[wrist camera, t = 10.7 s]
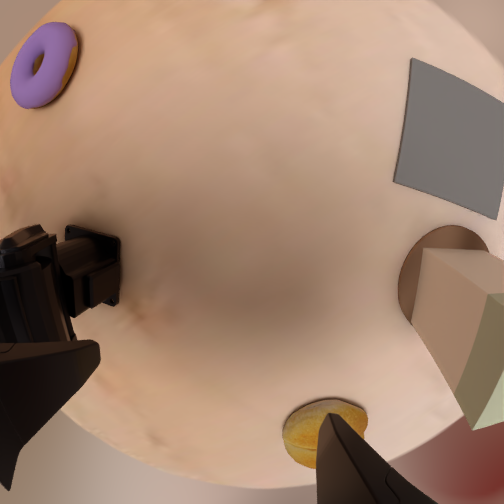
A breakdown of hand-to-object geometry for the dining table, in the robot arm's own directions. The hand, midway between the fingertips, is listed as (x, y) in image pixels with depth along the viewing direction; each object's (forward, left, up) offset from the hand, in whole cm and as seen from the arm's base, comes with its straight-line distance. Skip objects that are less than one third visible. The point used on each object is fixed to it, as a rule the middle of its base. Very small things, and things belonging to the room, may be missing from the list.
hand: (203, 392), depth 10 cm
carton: (+15, +3, -12) cm, 20 cm away
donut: (-25, +16, -13) cm, 33 cm away
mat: (+13, +14, -13) cm, 23 cm away
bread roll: (+10, -14, -14) cm, 22 cm away
